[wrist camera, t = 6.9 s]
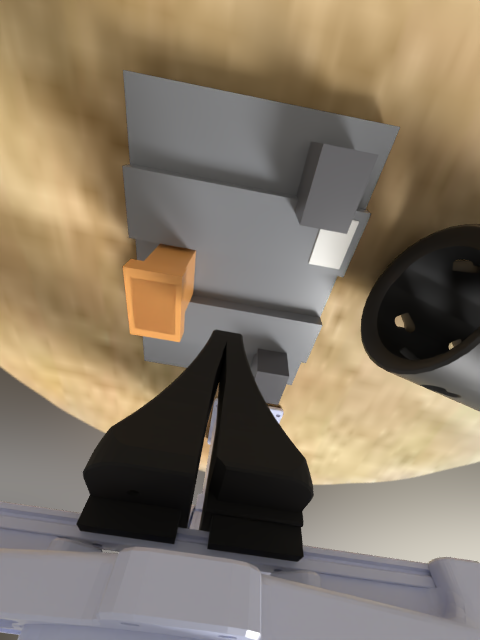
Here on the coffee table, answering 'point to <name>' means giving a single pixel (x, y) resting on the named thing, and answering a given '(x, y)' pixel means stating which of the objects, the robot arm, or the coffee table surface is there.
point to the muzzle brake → (430, 315)
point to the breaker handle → (160, 292)
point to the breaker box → (248, 212)
